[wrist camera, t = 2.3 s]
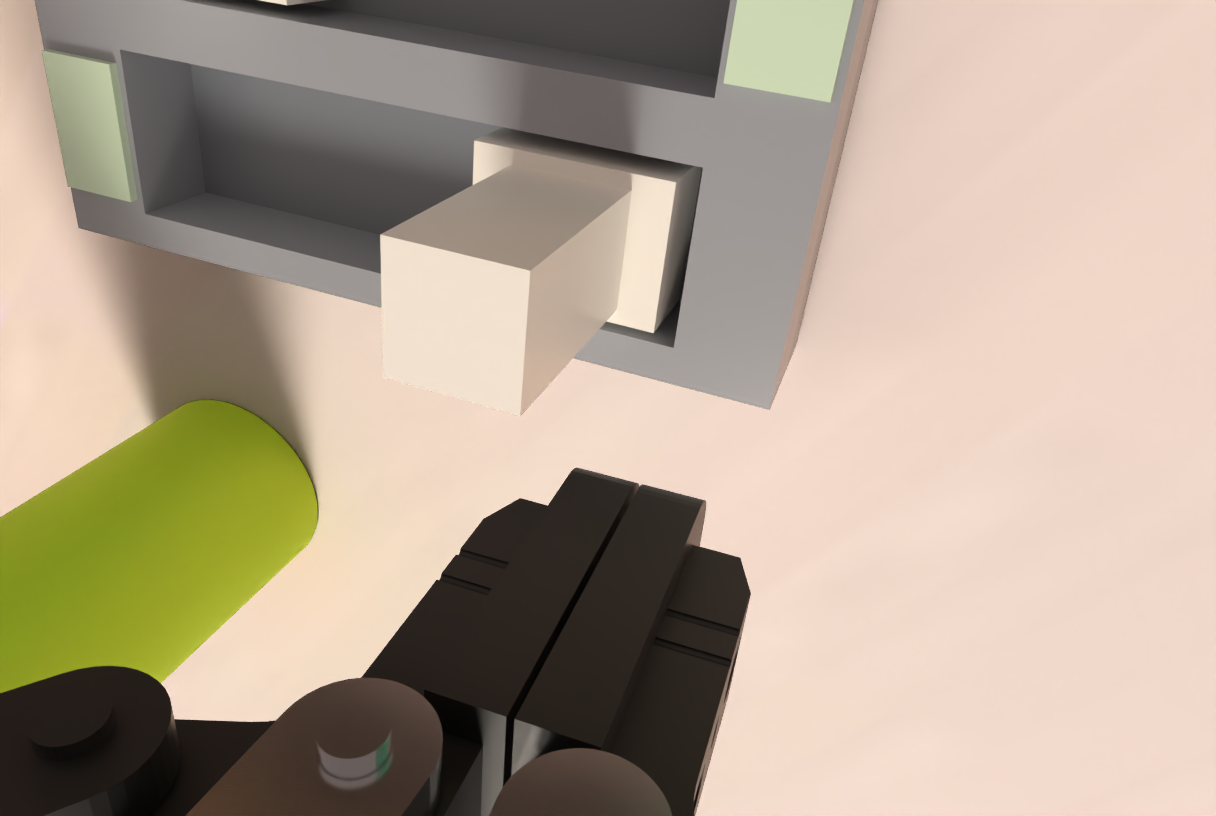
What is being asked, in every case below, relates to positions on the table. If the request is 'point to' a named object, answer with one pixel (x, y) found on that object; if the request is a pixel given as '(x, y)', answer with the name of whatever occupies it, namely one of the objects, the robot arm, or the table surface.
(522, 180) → the tab
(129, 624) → the soap dispenser
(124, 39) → the switch bank
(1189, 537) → the table surface
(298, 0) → the tab
